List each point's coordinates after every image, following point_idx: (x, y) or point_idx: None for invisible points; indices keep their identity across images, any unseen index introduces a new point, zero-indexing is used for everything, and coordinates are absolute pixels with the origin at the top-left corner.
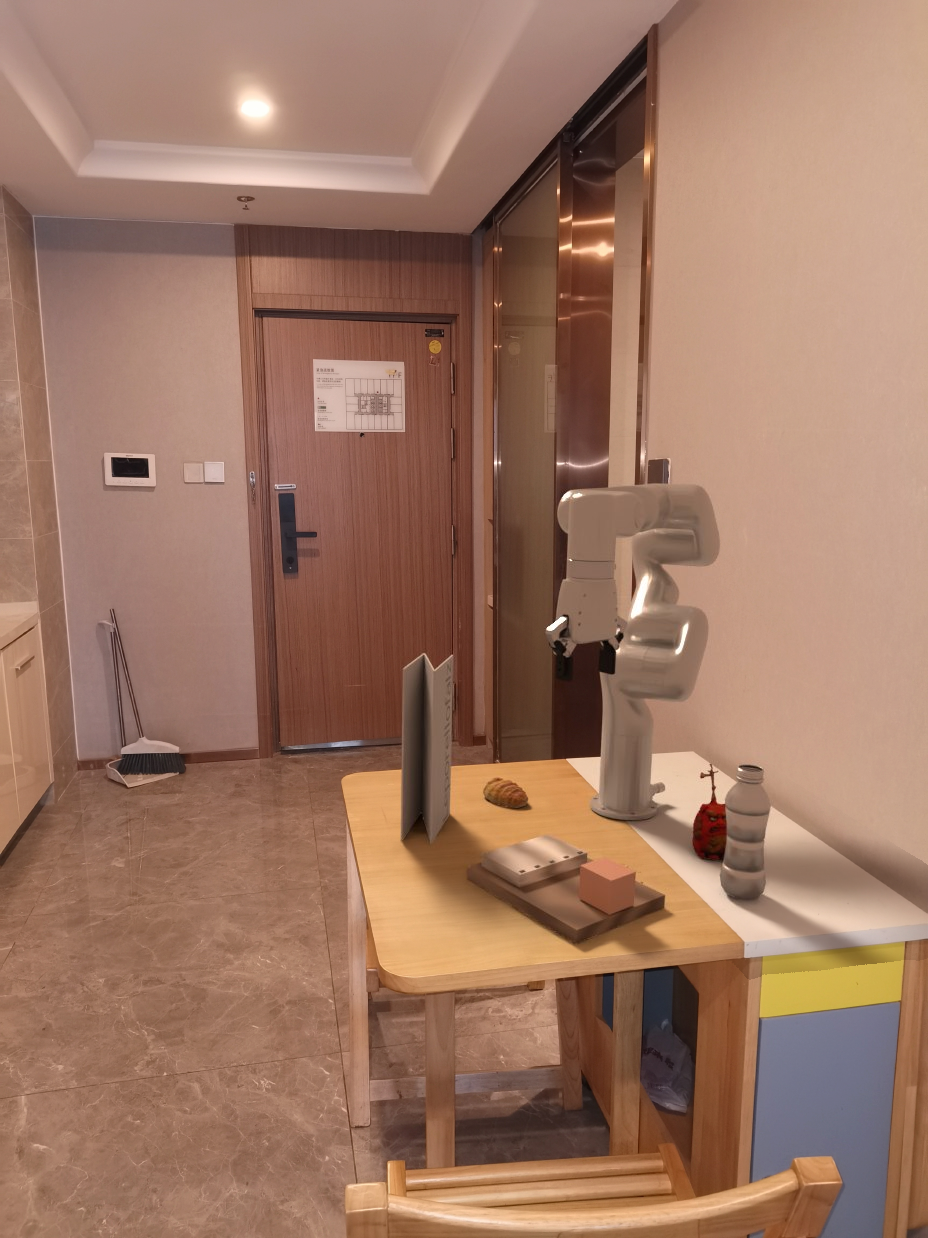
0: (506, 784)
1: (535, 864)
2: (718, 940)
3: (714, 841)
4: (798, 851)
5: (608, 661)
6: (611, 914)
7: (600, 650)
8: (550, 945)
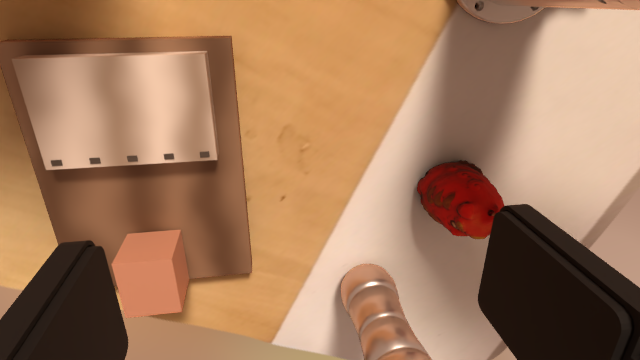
0: None
1: (97, 151)
2: (248, 332)
3: (433, 218)
4: None
5: (529, 337)
6: None
7: (608, 323)
8: None
